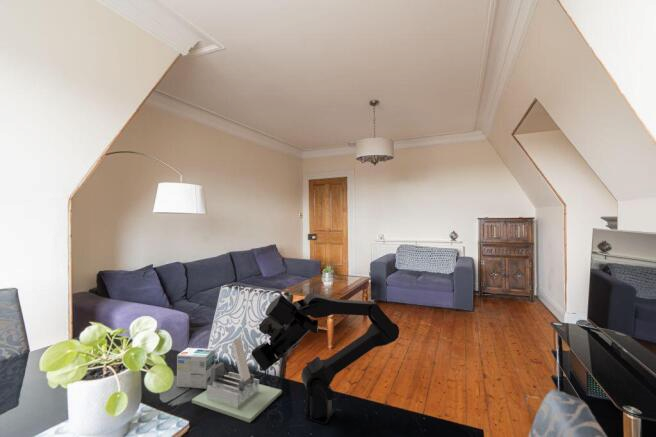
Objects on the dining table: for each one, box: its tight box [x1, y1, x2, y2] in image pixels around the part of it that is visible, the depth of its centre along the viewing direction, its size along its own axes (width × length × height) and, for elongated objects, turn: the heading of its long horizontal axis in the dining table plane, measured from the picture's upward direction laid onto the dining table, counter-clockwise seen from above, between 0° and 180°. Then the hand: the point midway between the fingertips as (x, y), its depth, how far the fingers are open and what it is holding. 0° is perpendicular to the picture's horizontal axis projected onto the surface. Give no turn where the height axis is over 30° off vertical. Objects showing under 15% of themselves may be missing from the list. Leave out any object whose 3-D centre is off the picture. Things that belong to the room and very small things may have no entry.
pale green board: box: [191, 383, 283, 423], centre depth 94 cm, size 22×16×1 cm
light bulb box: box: [176, 347, 216, 390], centre depth 102 cm, size 11×7×11 cm, turn 84°
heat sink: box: [206, 361, 260, 409], centre depth 94 cm, size 13×10×8 cm
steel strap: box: [231, 337, 252, 387], centre depth 92 cm, size 14×3×2 cm
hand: (260, 363), depth 89 cm, fingers closed
